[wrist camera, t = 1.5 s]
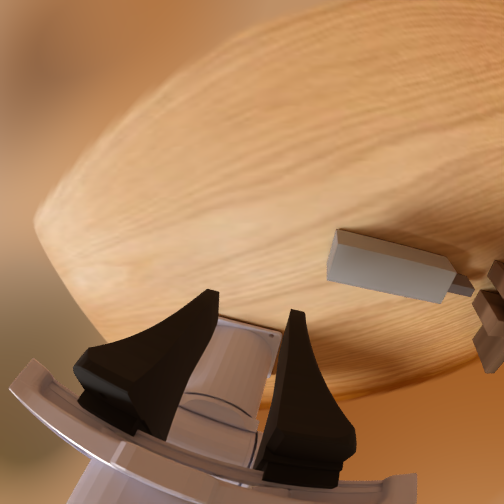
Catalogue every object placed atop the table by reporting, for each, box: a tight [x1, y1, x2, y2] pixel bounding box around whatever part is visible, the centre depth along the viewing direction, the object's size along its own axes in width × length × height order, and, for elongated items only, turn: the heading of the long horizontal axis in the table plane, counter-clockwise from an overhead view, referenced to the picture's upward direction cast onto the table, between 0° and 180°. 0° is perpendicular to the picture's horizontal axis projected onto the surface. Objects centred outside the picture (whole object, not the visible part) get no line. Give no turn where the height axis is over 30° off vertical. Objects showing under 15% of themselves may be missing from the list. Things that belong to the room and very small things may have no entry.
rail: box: [327, 229, 475, 304], centre depth 18 cm, size 13×3×2 cm, turn 84°
